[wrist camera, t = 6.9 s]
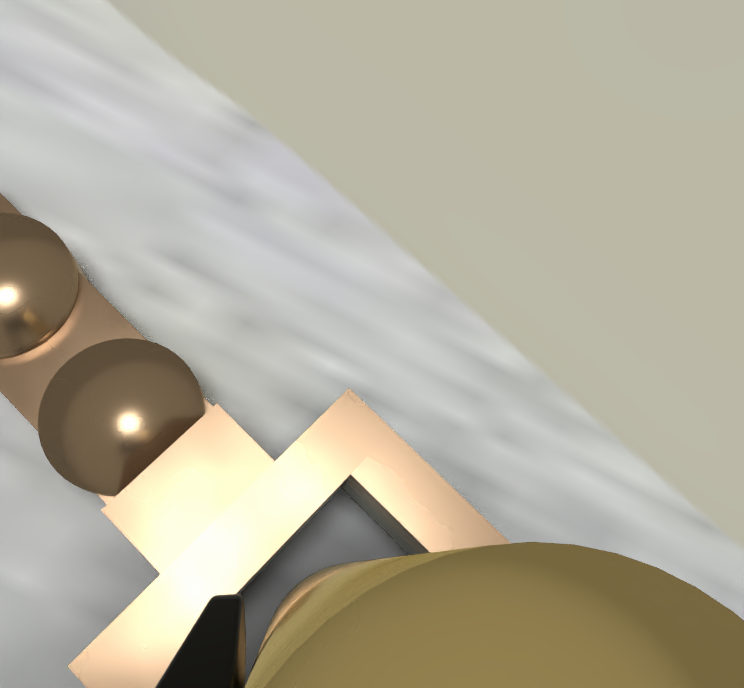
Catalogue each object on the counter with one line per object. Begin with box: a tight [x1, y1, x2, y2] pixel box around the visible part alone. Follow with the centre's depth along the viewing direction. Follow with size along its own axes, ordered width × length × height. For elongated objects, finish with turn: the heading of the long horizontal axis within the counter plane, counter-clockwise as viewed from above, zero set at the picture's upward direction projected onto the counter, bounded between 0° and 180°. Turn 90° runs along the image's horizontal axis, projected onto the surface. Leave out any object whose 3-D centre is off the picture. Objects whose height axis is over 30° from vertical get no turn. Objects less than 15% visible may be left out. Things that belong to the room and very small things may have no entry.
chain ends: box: [0, 193, 511, 688], centre depth 17 cm, size 33×9×3 cm, turn 47°
